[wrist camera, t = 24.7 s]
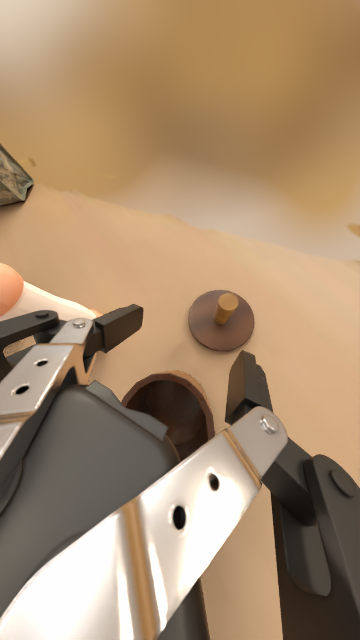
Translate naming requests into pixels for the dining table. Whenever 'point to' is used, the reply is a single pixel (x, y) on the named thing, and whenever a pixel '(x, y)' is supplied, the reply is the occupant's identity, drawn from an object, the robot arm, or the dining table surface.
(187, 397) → the tin
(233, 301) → the lid
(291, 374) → the dining table surface
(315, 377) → the dining table surface
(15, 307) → the pepper shaker
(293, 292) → the dining table surface
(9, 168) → the lunch bag
